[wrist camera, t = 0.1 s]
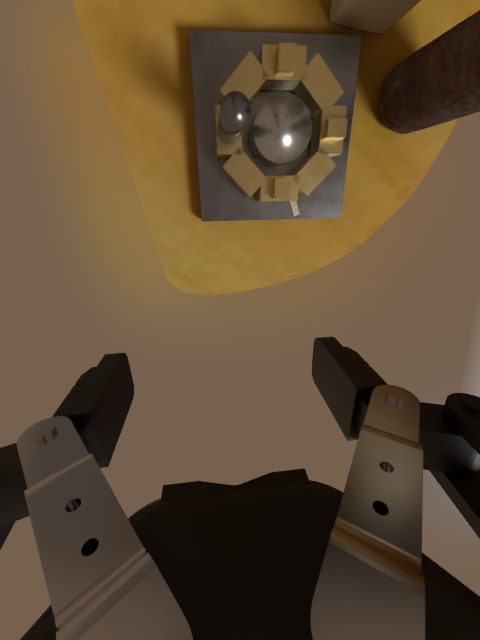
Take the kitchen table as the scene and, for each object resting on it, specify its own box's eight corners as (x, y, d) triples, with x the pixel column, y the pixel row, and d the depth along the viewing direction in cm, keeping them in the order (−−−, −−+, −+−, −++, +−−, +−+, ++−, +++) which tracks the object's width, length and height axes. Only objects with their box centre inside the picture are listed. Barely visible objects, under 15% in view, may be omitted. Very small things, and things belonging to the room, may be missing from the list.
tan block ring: (212, 57, 29) (214, -12, 19) (340, 60, 30) (402, -3, 20) (218, 201, 34) (222, 204, 25) (326, 199, 35) (370, 201, 26)
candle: (382, 149, 36) (562, 101, 18) (363, 86, 33) (556, -50, 15) (438, 114, 35) (690, 26, 17) (424, 46, 32) (711, -151, 14)
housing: (189, 39, 30) (185, 4, 24) (353, 44, 31) (383, 12, 26) (202, 220, 37) (201, 224, 32) (333, 216, 39) (354, 220, 33)
